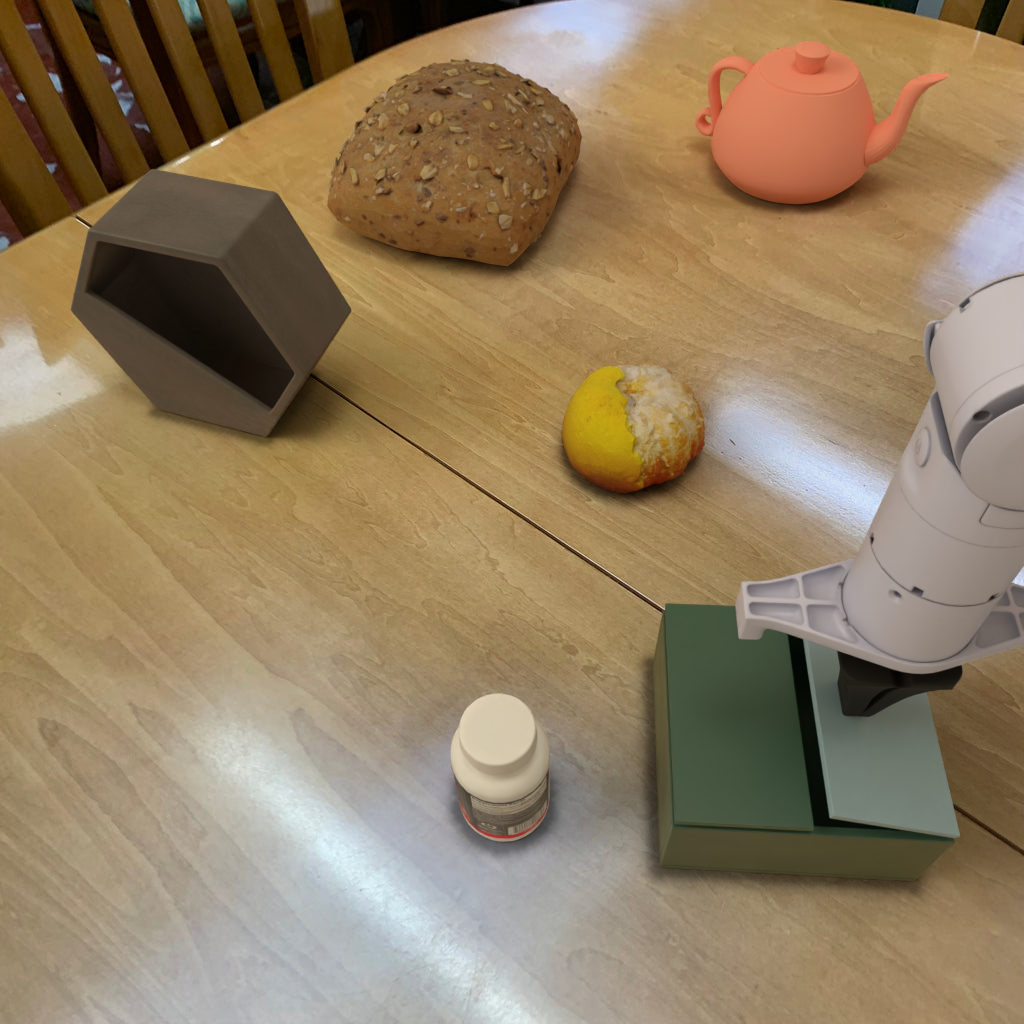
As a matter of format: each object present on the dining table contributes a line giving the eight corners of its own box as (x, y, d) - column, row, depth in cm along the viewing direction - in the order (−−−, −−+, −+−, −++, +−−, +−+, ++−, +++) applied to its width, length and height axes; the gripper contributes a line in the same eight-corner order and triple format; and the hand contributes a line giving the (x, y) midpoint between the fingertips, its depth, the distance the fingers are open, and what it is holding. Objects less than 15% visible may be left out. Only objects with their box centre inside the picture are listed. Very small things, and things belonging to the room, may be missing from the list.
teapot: (922, 158, 94) (966, 33, 85) (887, 243, 86) (931, 116, 76) (716, 113, 101) (734, -7, 91) (665, 188, 93) (678, 64, 83)
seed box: (873, 671, 59) (908, 611, 53) (914, 881, 51) (961, 837, 45) (652, 662, 60) (664, 602, 54) (659, 867, 52) (674, 822, 46)
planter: (61, 348, 73) (99, 175, 57) (117, 288, 78) (167, 112, 61) (248, 466, 77) (332, 336, 61) (291, 403, 82) (380, 266, 66)
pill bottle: (461, 755, 56) (448, 679, 49) (549, 755, 56) (550, 679, 49) (457, 844, 53) (442, 779, 45) (550, 844, 53) (552, 778, 45)
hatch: (904, 615, 54) (908, 612, 53) (955, 838, 46) (960, 836, 45) (796, 593, 52) (799, 589, 52) (829, 818, 45) (833, 815, 44)
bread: (526, 294, 83) (523, 173, 74) (315, 249, 88) (287, 131, 79) (603, 151, 97) (609, 35, 87) (417, 120, 102) (404, 6, 92)
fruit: (692, 518, 66) (670, 441, 61) (559, 509, 71) (528, 436, 66) (724, 409, 73) (708, 330, 67) (601, 407, 77) (575, 333, 72)
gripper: (1094, 477, 40) (977, 637, 50) (752, 467, 41) (708, 627, 51) (1153, 618, 35) (1011, 761, 46) (769, 604, 36) (718, 747, 47)
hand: (853, 698), depth 48 cm, fingers closed
